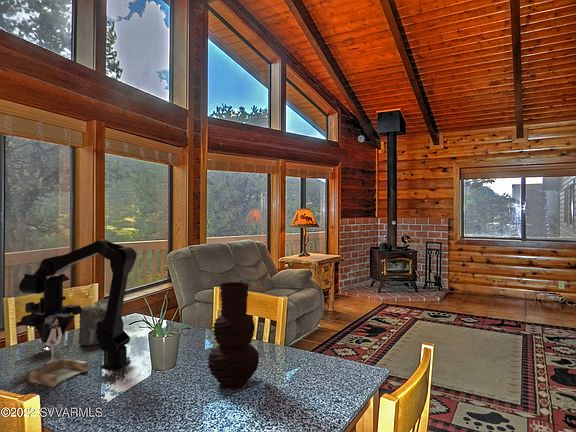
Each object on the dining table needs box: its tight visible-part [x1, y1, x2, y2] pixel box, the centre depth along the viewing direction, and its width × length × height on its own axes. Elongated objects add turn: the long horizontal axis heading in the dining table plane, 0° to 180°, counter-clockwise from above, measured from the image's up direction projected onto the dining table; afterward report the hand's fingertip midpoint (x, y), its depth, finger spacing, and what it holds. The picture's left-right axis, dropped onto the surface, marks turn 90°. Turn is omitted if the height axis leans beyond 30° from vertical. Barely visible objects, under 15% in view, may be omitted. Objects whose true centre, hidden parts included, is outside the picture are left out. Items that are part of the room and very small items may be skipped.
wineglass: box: [43, 324, 64, 363], centre depth 131 cm, size 6×6×12 cm
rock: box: [77, 299, 108, 346], centre depth 157 cm, size 21×16×10 cm
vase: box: [207, 281, 260, 391], centre depth 116 cm, size 15×15×30 cm
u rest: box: [26, 357, 89, 388], centre depth 120 cm, size 10×12×3 cm
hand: (52, 340), depth 131 cm, fingers closed on wineglass, 6 cm apart
